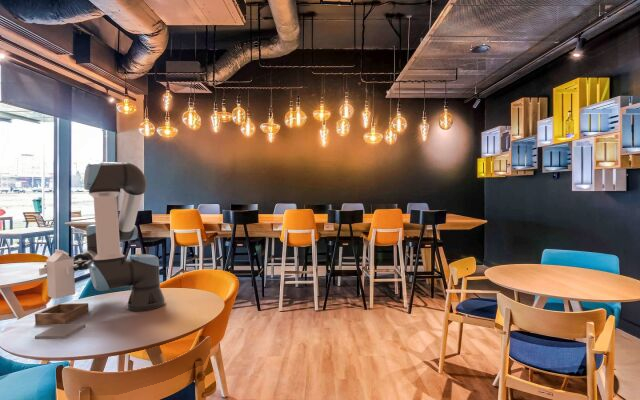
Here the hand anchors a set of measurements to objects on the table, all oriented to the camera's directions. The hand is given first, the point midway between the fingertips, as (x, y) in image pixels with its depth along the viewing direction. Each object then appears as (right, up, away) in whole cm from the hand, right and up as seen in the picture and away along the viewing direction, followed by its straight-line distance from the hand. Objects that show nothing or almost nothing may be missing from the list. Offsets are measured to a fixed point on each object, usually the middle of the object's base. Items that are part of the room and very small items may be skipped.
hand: (53, 271), depth 148 cm
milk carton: (0, -11, +5) cm, 12 cm away
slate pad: (+10, -21, -10) cm, 25 cm away
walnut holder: (0, -20, +5) cm, 21 cm away
